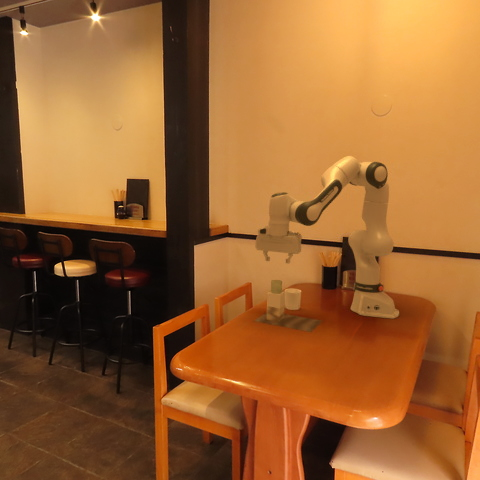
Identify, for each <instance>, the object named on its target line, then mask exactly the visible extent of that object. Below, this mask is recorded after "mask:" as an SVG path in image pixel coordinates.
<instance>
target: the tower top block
mask: <svg viewBox="0 0 480 480" xmlns="http://www.w3.org/2000/svg"><path fill="white" fill-rule="evenodd" d="M284 305H285V290H284V291H283V290H282V293H280V294H274V293H271V290H269V291H268V292H267V293H266V307H267V306H269V307H275V308H281V307H282V306H284Z"/></svg>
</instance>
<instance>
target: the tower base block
mask: <svg viewBox="0 0 480 480" xmlns="http://www.w3.org/2000/svg"><path fill="white" fill-rule="evenodd" d="M285 309H286V308H285V305H284V306H282V307H281V308H275V307H269V306H267V305H266V312H267V320H273V321H278V322H279V321H281V320H282V319H283V318H284V314H285Z"/></svg>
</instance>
